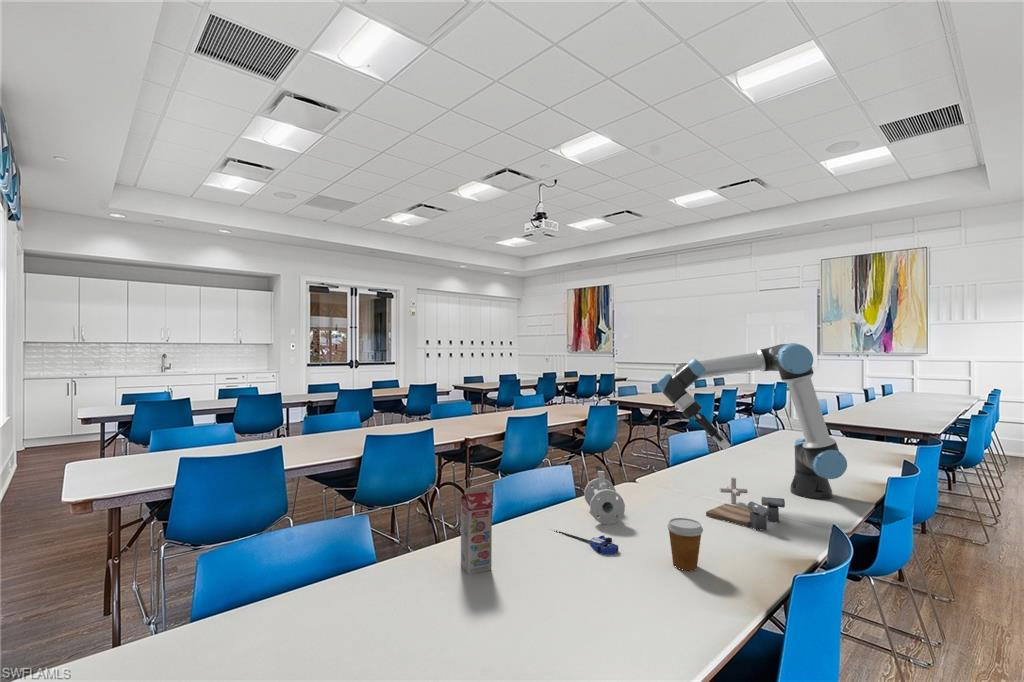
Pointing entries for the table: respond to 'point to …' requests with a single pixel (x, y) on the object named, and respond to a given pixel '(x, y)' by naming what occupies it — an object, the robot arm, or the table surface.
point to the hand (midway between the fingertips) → (727, 447)
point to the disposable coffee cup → (685, 542)
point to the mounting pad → (731, 514)
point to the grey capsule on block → (773, 507)
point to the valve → (604, 500)
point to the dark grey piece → (758, 516)
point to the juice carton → (476, 530)
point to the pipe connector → (733, 490)
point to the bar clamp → (599, 544)
